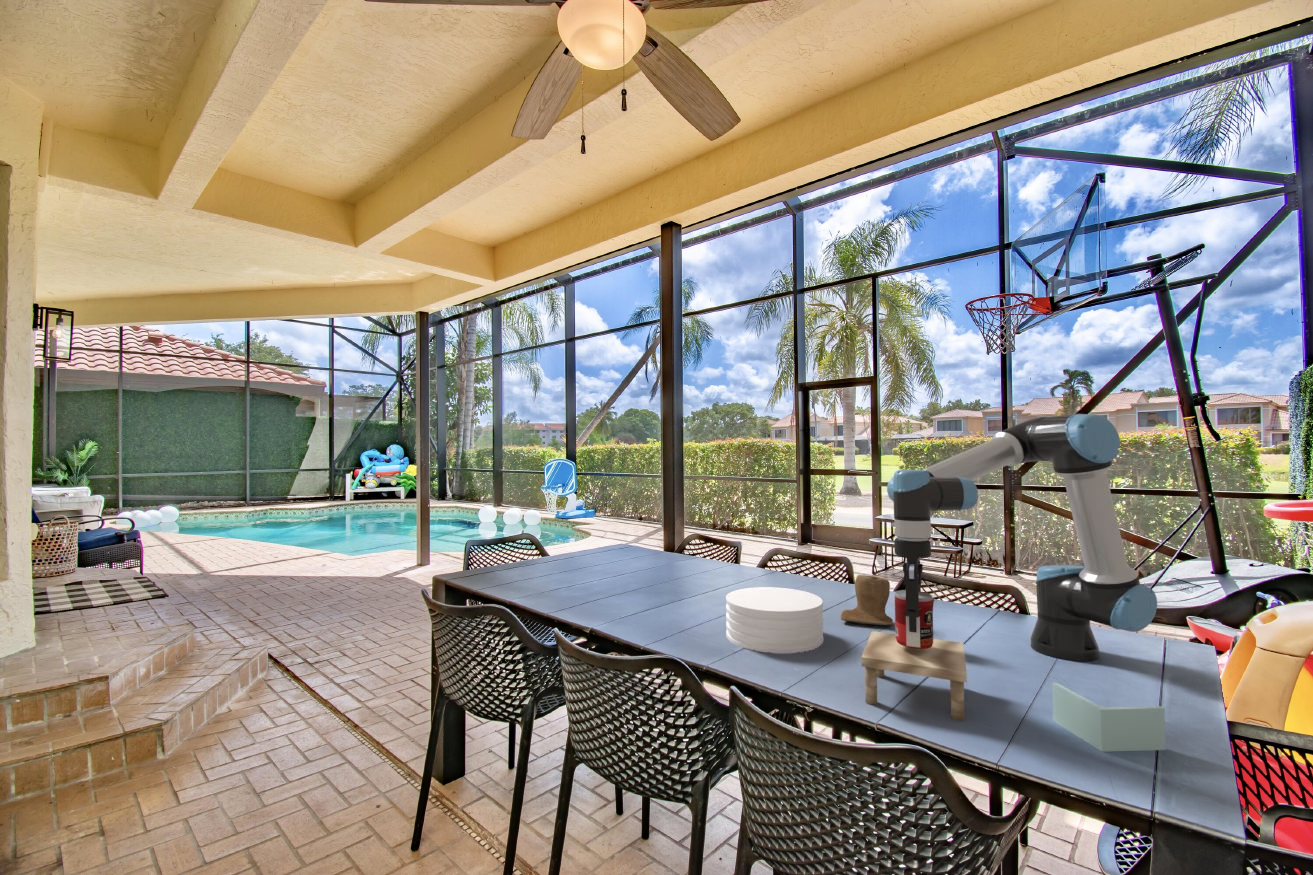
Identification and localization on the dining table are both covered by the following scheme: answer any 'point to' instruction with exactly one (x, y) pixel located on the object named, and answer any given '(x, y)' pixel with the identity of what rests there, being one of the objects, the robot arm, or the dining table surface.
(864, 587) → the brown suede boots
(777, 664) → the dining table surface
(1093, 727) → the right angle wall
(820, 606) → the plate stack
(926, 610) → the canned food
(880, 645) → the footstool
